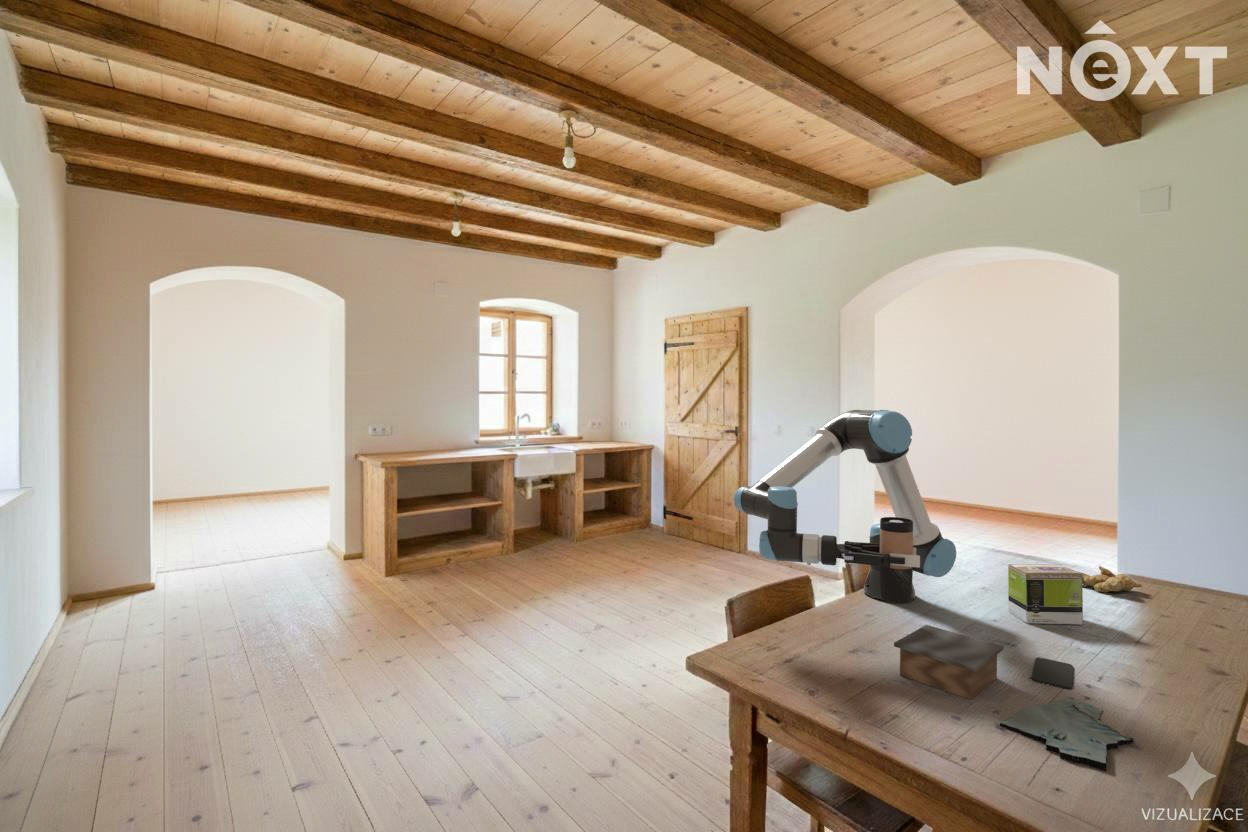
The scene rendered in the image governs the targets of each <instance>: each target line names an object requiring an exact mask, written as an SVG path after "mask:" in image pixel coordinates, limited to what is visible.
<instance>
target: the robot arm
mask: <svg viewBox="0 0 1248 832" xmlns="http://www.w3.org/2000/svg"><path fill="white" fill-rule="evenodd" d="M912 436H913V429H912V426H911V423H910V421H909V420H908V419H907V417H905V416H904V415H903V414H902V413H900V412H897V411H894V410H888V409H879V410H875V409H874V410H872V409H871V410H870V409H868V410H867V409H865V410H864V409H852V410H848V411H845V412H843V413H841V414H839V415H837V416H835V417H833V418H832V419H830V420H829V421H827V422H826V423H825V424H823V425H822V426H821V427H820V428H818V429H817V430H816V431H815V433H814V436H813V437H812V438H811V439H810V440H809V441H808V442H806V443H805V444H803V445H802V446H800V448H798V449H797V450H796V451H795V452H793V453H792V454H791V455H790V456H788V457H787V458H785V460H783V461H782V462H781V463H779V464H778V465H777V466H775V468H774V469H772V470H771V471H769V472H767V474H766V475H765V476H763V477H762V478H760V480H758V481H757V482H755V483H754V484H753V485H752V486H749V485H748V486H742V487H739V488H738V489H737V490H736V491H735V494H734V496H733V502H734V503H733V504H734V505H735V506H734V507H736V509H737V510H738V511H740V512H742V513H745V514H746V515H749V516H750V515H751V516H755V517H759V518H761V519H764V520H767V530H762V531H761V532H760V533H759V544H758V548H759V549H758V550H759V555H760V557H761V558H762V559H765V560H772V561H776V562H790V563H791V562H792V563H794V562H795V563H805V564H806V565H807V566H811V565H812V564H815V565H818V564H819V563H820V564H822V565H824V566H836V565H837V559H841V560H844V563H845V564H856V565H858V564H859V565H867V566H869V570H868V573H867V576H866V579H865V581H864V584H863V592H864V591H865V593H866V594H867V595H869V596H871V597H870V598H872V597H874V598H873V599H875V598H878V599H881V598H880V569H879V566H882V567H887V568H890V565H896V566H908V567H913V572H916V573H919V574H922V575H925V576H928V577H933V578H934V577H935V578H942V577H944V576H946V575H948V574H949V573H950V572H951V570H952V568H953V567H954V565H955V562H956V559H957V547H956V545H955V543H954V542H953V541H952V540H950V539H949V538H944V537H943V536H942V533H941V530H940V527H939V526H938V525H937V524H935V523H934V522H931V520H930V516H929V514H928V512H927V509H926V506H925V503H924V501H923V498H922V496H921V492H920V489H919V488H918V487H919V486H918V484H917V482H916V479H915V477H914V473H913V472H912V469H911V466H910V464H909V460H908V458H907V454H908V453H909V451H910V446H911V444H912V438H911V437H912ZM853 449H855V450H862V451H863V452H864V454H865V457H866V459H867V462H869V464H873V465H875V467H876V471H877V473H878V475H879V478H880V481H881V483H882V485H883V488H884V491H885V493H886V496H887V498H888V501H889V503H890V506H891V508H892V510H893V511H892V512H893V514H894V517H899V518H906V519H910V520H912V521H913V555H906V554H893V553H890V555H889V554H883V553H880V523H876V524H872V526H870V530H869V531H870V532H869V533H870V534H869V542H861V541H860V542H858V541H856V542H855V541H848V540H845V541H844V542H843V543H838V541H837V536H835V535H827V534H826V535H825V534H823V535H821V536H820V534H818V533H817V534H816V533H815V534H814V533H799V532H798V529H797V528H798V505H799V503H798V497H797V496H798V494H797V490H796V489H795V488H794V487H796V486H797V485H798V484H799V483H800V482H802V481H803V480H804V479H806V478H807V476H809V475H810V474H811V473H813V472H814V471H815V470H816V469H818V468H819V467H820V466H821V465H823V464H824V463H825V462H826V461H827V460H829V459H830V458H831V457H832V456H833V457H834V456H835V457H837V456H839V455H840V454H842V453H844V452H845V451H847V450H848V451H849V450H853ZM865 593H864V594H865ZM866 594H865V595H866ZM867 595H866V596H867ZM869 596H868V597H869ZM915 598H916V590H915V587H914V584H913V582H912V597H911V602H912V601H915ZM878 599H877V600H878Z"/></svg>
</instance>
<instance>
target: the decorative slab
mask: <svg viewBox="0 0 1248 832" xmlns="http://www.w3.org/2000/svg"><path fill="white" fill-rule="evenodd" d="M1081 702H1082V701H1081V700H1077V699H1075V697H1068V696H1067V698H1066V699H1062V700H1061V699H1060V700H1055V701H1053V702H1050V703H1036V704H1031V705H1029V706H1027V707H1025V708H1022V709H1021V710H1020V712H1017V713H1016V714H1015V715H1014V716H1012V717H1010V718H1008V719H1006V721H1002V722H999V727H1000V728H1005V729H1006V730H1009V731H1011V732H1015V733H1017V734H1019V735H1021V736H1023V737H1026V738H1028V739H1031V740H1034V741H1036V742H1041V743H1042V744H1044V745H1045V750H1046V751H1049V752H1050V753H1051V752H1052V753H1053V754H1058V755H1059V759H1060V760H1061V759H1062V760H1065V761H1068V762H1071V763H1073V764H1074V763H1075V764H1079V765H1083V766H1088V767H1091V768H1094V769H1097V770H1101V771H1103V772H1107V757H1108V750H1116V749H1119V747H1120V746H1124V745H1128V744H1133V743H1134V737H1130V736H1127V735H1126V734H1124V733H1121V732H1119V731H1118V730H1117V729H1115V728H1113V727H1112V726H1109V725H1108V724H1106V723H1105V722H1104V721H1101V715H1102V713H1103V712H1104V710H1103V709H1100V708H1096V707H1094V705H1093V704H1091V703H1087V702H1083V703H1081Z"/></svg>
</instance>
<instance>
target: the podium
mask: <svg viewBox="0 0 1248 832" xmlns="http://www.w3.org/2000/svg"><path fill="white" fill-rule="evenodd" d="M893 647H894V648H898V649H900V650H899V653H900V654H899V676H901V675H903V676H902V677H904V676H906V677H905V678H907V677H909V678H908V679H910V678H912V679H911V680H913V679H914V680H913V681H916V680H917V681H916V682H918V683H921V682H923V683H922V684H924V683H926V684H925V685H927V684H928V686H931V687H934V688H936V689H939V690H942V691H944V692H948V693H951V694H953V695H956V696H959V697H963V698H965V699H969V700H973V699H974V698H975V697H976V696H978V695H979V694H980V693H981V692H982V691H983V690H985V689H987V687H988V686H989V685H990V684H992V682H994V681H996V680H997V678H998V655H999V654H1000V653H1001V652H1002V651H1003V650H1004V649H1005V646H1004V645H1002V644H997V643H994V642H991V641H987V640H983V639H980V638H977V637H976V638H975V637H973V636H969V635H966V634H965V635H964V634H963V633H962V634H961V633H958V632H956V631H955V632H954V631H950V630H947V629H943V628H939V627H936V626H932V625H928V624H925V625H923V626H921V627H920V628H918V629H916V630H914V631H912V632H911V633H909V634H907V635H905V636H904V637H902V638H900V639H898V640H897V641H895V642H893Z"/></svg>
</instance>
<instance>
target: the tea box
mask: <svg viewBox="0 0 1248 832" xmlns="http://www.w3.org/2000/svg"><path fill="white" fill-rule="evenodd" d="M1007 569H1008V572H1007V573H1008V577H1007V578H1008V588H1007V589H1008V597H1007V599H1008V611H1009V612H1008V613H1010V614H1012V615H1013V616H1014V617H1017V618H1018V619H1019V620H1020V621H1022V622H1024V623H1026V624H1035V625H1037V624H1040V625H1041V624H1043V625H1047V624H1048V625H1079V626H1080V625H1081V626H1082V625H1084V621H1083V619H1084V615H1083V614H1084V613H1083V611H1084V610H1083V608H1084V607H1083V606H1084V605H1083V602H1084V600H1083V599H1084V598H1083V597H1084V596H1083V593H1084V592H1083V584H1082V573H1083V572H1081V573H1079V572H1080V571H1077V570H1074V569H1071V568H1070V567H1067V566H1065V565H1062V564H1059V563H1058V564H1053V563H1052V564H1051V563H1050V564H1047V563H1045V564H1042V563H1040V564H1039V563H1038V564H1037V563H1020V564H1019V563H1008V565H1007Z"/></svg>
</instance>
